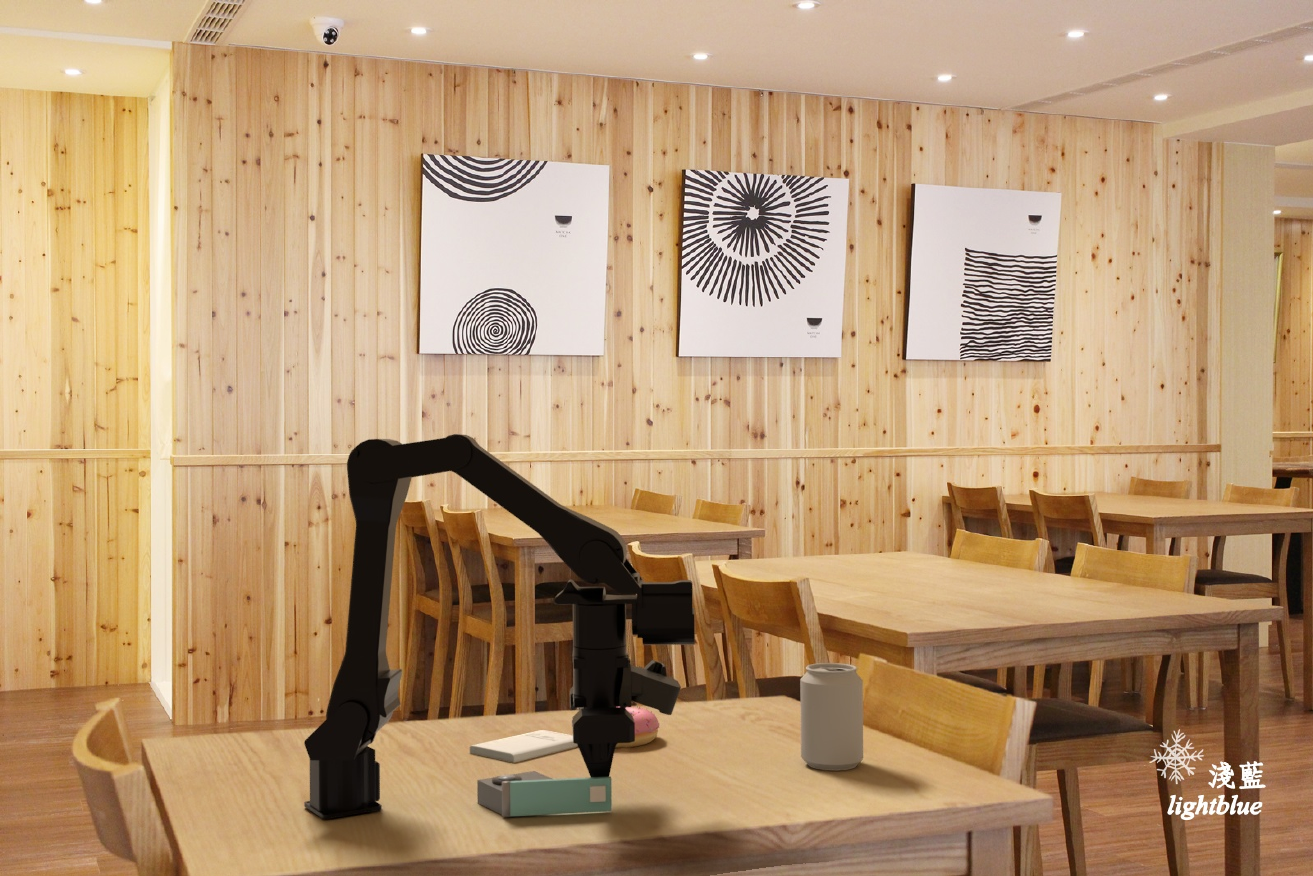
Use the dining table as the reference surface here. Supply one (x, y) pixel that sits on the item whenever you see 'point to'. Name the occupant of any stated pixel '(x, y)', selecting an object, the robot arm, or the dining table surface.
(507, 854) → the dining table surface
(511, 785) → the side door
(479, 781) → the camera body
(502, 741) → the external hard drive
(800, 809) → the dining table surface
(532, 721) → the dining table surface
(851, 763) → the can
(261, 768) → the dining table surface
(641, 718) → the doughnut
